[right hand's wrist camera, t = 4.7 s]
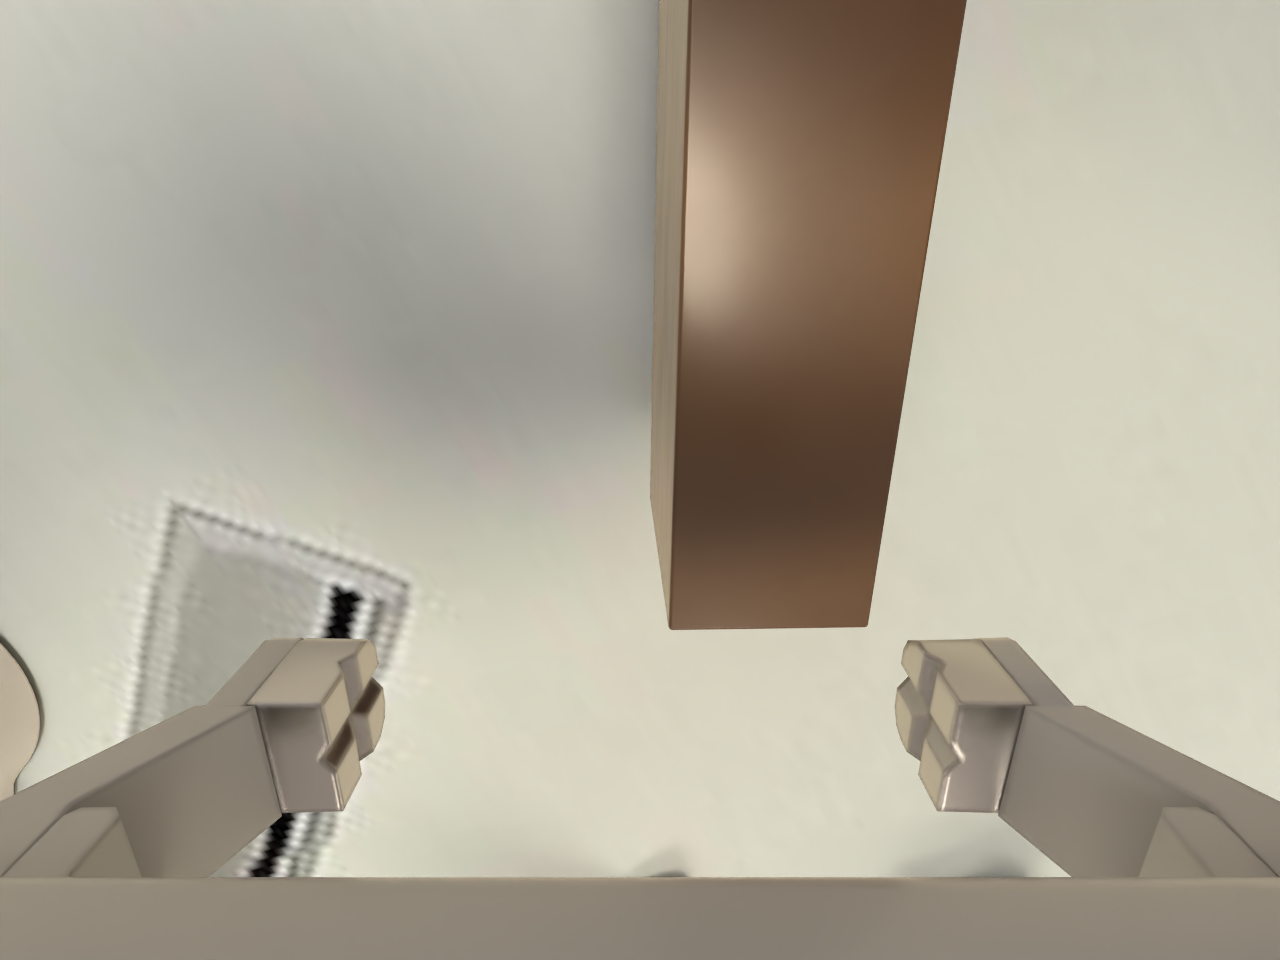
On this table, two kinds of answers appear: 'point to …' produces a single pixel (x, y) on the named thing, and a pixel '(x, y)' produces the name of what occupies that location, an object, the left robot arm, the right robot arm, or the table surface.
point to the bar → (787, 294)
